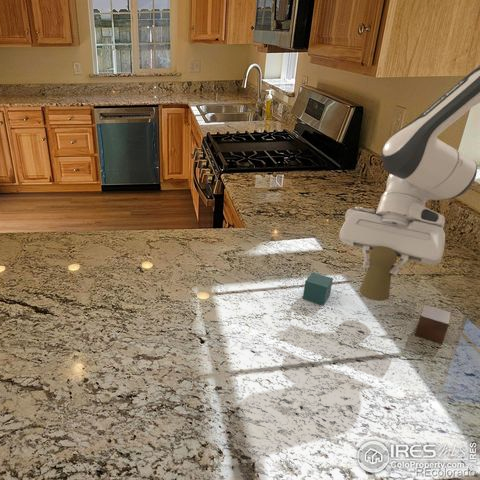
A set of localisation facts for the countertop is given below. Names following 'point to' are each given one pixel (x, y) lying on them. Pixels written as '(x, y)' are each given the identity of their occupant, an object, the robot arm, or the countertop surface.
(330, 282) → the block teal
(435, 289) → the countertop surface
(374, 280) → the cork
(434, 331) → the block walnut
